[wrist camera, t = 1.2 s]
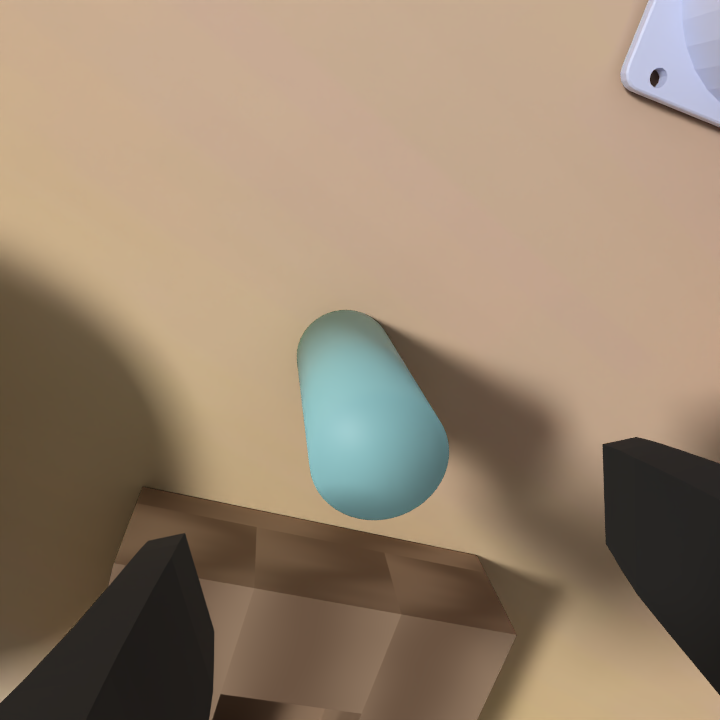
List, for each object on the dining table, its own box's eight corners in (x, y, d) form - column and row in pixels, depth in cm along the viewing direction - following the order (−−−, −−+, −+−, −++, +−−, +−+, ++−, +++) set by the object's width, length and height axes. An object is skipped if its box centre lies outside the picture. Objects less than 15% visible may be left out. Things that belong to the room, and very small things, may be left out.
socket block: (476, 555, 23) (516, 635, 19) (374, 795, 26) (391, 903, 23) (142, 486, 21) (113, 562, 17) (73, 762, 24) (36, 878, 20)
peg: (403, 324, 20) (468, 412, 13) (374, 409, 21) (422, 532, 14) (312, 298, 19) (334, 376, 13) (285, 387, 20) (292, 504, 14)
